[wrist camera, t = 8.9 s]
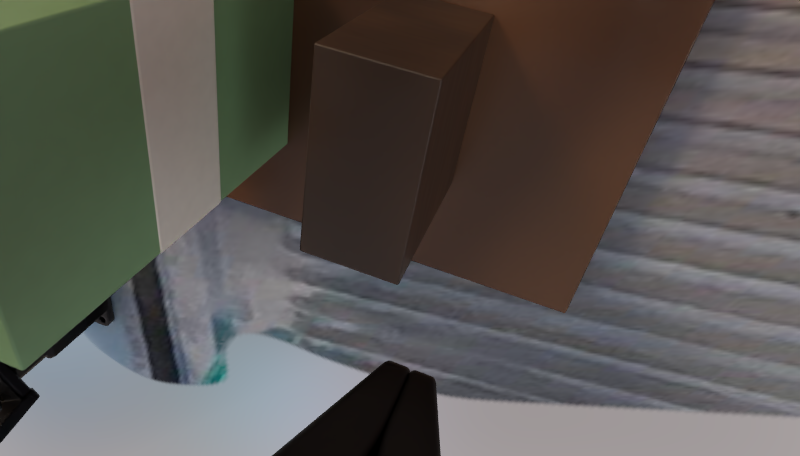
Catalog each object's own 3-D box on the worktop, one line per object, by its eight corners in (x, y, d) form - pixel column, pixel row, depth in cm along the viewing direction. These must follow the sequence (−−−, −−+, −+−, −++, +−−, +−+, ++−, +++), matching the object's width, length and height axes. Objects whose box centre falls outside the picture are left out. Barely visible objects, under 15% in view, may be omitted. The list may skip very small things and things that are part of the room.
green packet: (242, 107, 23) (-152, 181, 16) (241, -83, 19) (-294, -100, 12) (386, 228, 18) (-93, 418, 11) (427, 6, 14) (-307, 73, 7)
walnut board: (94, 142, 26) (-40, 215, 21) (20, -254, 17) (-237, -299, 12) (566, 304, 22) (548, 443, 17) (758, -101, 14) (837, -72, 9)
